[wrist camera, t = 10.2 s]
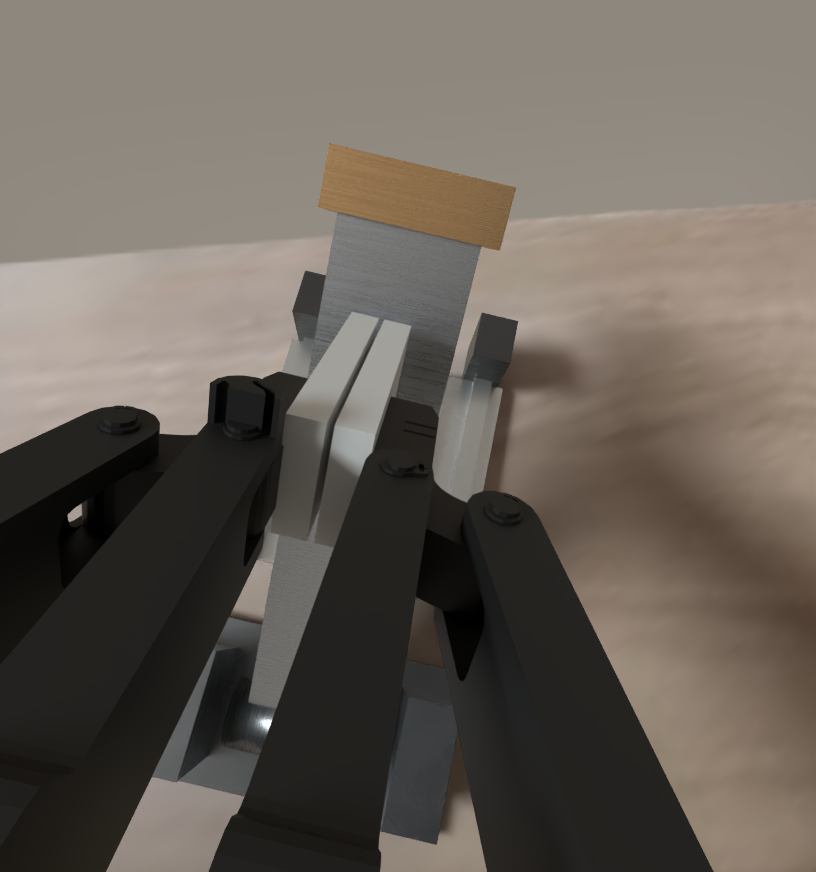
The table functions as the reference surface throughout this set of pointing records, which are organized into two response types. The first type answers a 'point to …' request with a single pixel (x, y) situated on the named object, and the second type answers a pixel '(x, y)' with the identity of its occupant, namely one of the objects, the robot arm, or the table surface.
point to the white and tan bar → (387, 300)
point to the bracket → (422, 684)
